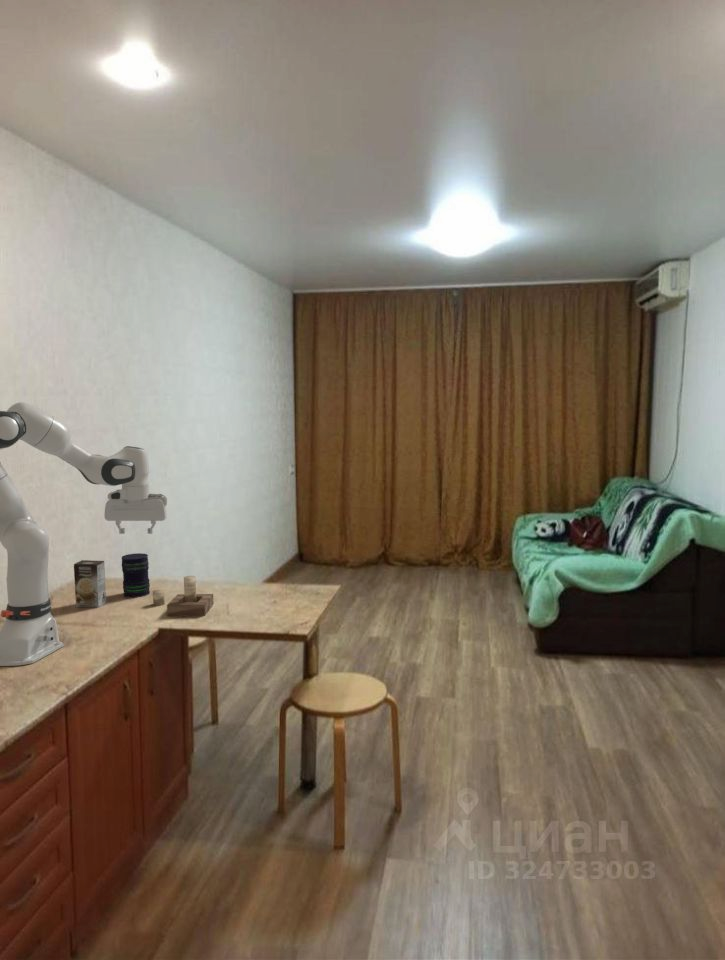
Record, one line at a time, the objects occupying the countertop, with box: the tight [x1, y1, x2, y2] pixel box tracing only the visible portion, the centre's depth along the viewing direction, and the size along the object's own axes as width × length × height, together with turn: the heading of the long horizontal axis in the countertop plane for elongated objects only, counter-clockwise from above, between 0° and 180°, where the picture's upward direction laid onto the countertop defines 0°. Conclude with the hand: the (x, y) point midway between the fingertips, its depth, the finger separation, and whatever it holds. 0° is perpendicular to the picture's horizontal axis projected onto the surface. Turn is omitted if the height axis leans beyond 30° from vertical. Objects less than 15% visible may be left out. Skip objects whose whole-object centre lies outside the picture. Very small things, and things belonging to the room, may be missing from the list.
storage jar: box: [121, 552, 151, 598], centre depth 265 cm, size 10×10×15 cm
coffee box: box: [73, 559, 107, 608], centre depth 251 cm, size 9×6×16 cm
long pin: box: [183, 575, 197, 602], centre depth 242 cm, size 4×4×12 cm
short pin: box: [152, 588, 166, 607], centre depth 251 cm, size 4×4×5 cm
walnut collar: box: [166, 593, 215, 617], centre depth 243 cm, size 13×13×4 cm
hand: (136, 533), depth 236 cm, fingers open, 8 cm apart
